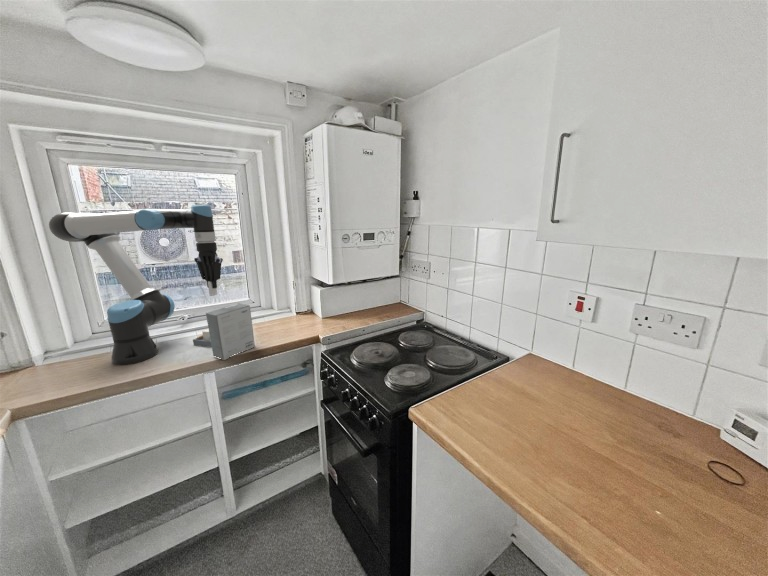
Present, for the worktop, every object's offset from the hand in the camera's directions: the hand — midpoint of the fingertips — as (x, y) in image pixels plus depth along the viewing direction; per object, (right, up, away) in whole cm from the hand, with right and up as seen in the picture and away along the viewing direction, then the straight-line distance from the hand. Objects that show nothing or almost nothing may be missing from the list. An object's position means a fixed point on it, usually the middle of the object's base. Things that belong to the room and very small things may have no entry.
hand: (213, 295), depth 133 cm
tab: (-5, -21, +6) cm, 22 cm away
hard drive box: (+11, -25, -3) cm, 28 cm away
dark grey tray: (-3, -21, +12) cm, 25 cm away
